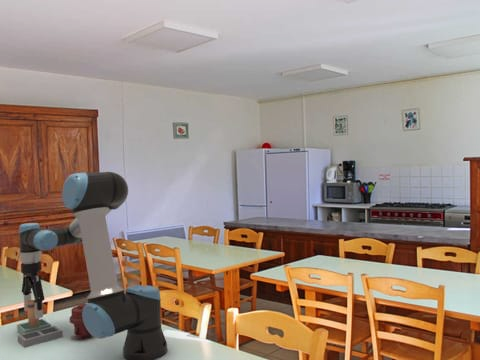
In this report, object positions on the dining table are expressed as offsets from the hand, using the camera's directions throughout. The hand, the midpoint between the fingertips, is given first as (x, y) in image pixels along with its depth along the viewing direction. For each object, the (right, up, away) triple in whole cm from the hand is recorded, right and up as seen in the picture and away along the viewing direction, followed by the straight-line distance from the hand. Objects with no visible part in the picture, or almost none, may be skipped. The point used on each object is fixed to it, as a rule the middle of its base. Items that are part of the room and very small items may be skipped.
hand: (33, 314), depth 182 cm
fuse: (0, -7, 0) cm, 7 cm away
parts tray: (0, -7, 0) cm, 7 cm away
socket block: (+6, -7, -8) cm, 13 cm away
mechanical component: (+23, -7, -7) cm, 25 cm away
